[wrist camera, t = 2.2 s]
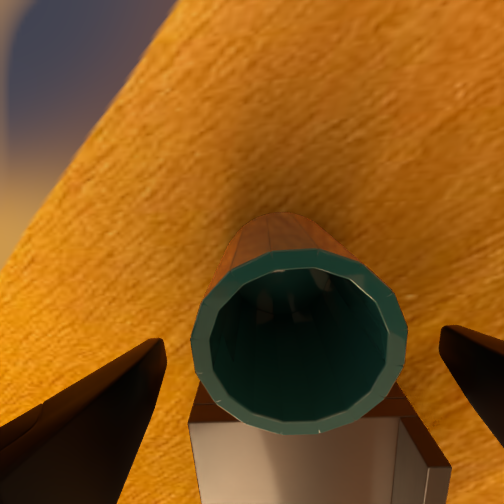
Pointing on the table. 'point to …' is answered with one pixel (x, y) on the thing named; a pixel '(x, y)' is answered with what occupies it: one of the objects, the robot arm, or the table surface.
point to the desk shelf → (318, 459)
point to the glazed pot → (296, 330)
